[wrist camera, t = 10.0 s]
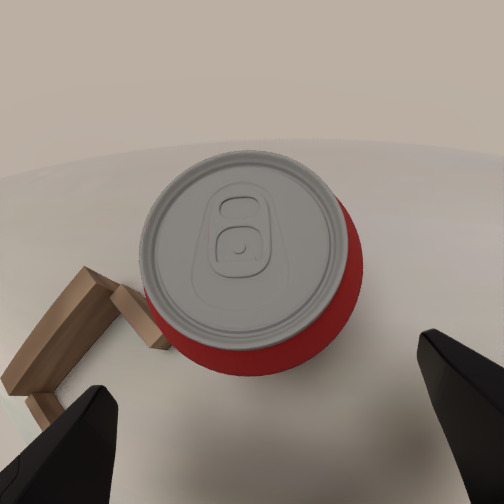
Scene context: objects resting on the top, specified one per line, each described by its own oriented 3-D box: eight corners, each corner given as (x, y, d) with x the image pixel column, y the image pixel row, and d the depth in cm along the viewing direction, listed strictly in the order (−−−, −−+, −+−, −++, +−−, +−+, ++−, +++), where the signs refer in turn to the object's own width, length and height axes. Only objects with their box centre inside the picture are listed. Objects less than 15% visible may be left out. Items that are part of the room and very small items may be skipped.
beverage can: (218, 368, 18) (106, 371, 7) (219, 262, 20) (135, 147, 9) (332, 365, 17) (390, 372, 6) (325, 256, 20) (353, 124, 8)
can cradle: (178, 337, 19) (147, 329, 15) (75, 444, 17) (35, 453, 13) (127, 277, 21) (91, 257, 17) (37, 385, 19) (-4, 383, 15)
